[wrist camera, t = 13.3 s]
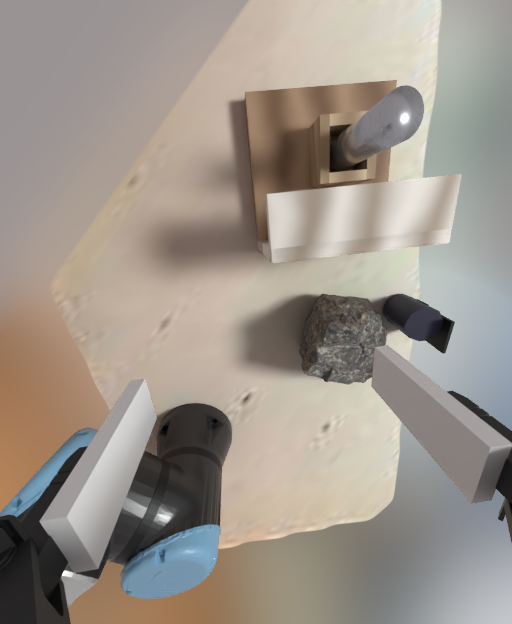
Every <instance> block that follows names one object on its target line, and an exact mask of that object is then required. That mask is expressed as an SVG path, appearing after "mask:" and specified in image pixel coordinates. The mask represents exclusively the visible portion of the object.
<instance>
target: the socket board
mask: <svg viewBox="0 0 512 624" xmlns="http://www.w3.org/2000/svg"><path fill="white" fill-rule="evenodd" d="M396 82H397V80H392V81H379V82H367V83H354V84H342V85H330V86H317V87H305V88H292V89H280V90H267V91H255V92H245V110H246V121H247V131H248V142H249V153H250V163H251V174H252V185H253V195H254V206H255V216H256V227H257V238H258V248H259V252H260V253H262V254H263V255H264V256H265V257H266V258H267V259H268V260H269V261H270V262H271V263H281V262H289V261H298V260H306V259H315V258H323V257H332V256H341V255H349V254H358V253H366V252H375V251H383V250H392V249H400V248H409V247H417V246H426V245H434V244H443V243H449V241H450V236H451V230H452V225H453V219H454V214H455V208H456V203H457V197H458V192H459V186H460V181H461V174H459V175H448V176H439V177H429V178H419V179H409V180H400V181H390V182H388V176H389V164H390V152H391V147H390V148H388V149H386V150H384V151H382V152H380V153H378V154H376V155H374V156H372V157H370V158H368V159H365V160H363V161H361V162H359V163H357V164H355V165H353V166H351V167H349V168H347V169H345V170H343V171H341V172H329V162H330V142H331V141H332V140H334V139H335V138H336V137H337V136H338V135H340V134H341V133H342V132H343V131H344V130H346V129H347V128H348V127H349V126H350V125H352V124H353V123H354V122H355V121H357V120H358V119H359V118H360V117H361V116H363V115H364V114H365V113H366V112H367V111H369V110H370V109H371V108H372V107H373V106H375V105H376V104H377V103H378V102H379V101H381V100H382V99H383V98H384V97H385V96H387V95H388V94H389V93H390V92H391V91H393V90H394V89H396Z"/></svg>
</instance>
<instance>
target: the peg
mask: <svg viewBox="0 0 512 624" xmlns="http://www.w3.org/2000/svg"><path fill="white" fill-rule="evenodd" d="M423 113H424V104H423V99H422V97H421V95H420V93H419V92H418V91H417V90H416V89H415V88H413V87H411V86H400V87H398V88H396V89H394V90H393V91H391V92H390V93H389V94H388V95H387V96H385V97H384V98H383V99H382V100H381V101H379V102H378V103H377V104H376V105H375V106H373V107H372V108H371V109H370V110H369V111H367V112H366V113H365V114H364V115H363V116H361V117H360V118H359V119H358V120H357V121H355V122H354V123H353V124H352V125H350V126H349V127H348V128H347V129H346V130H344V131H343V132H342V133H341V134H340V135H338V136H337V137H336V138H335V139H334V140H332V141H331V142H330V162H329V172H341V171H343V170H345V169H347V168H349V167H351V166H353V165H355V164H357V163H359V162H361V161H363V160H365V159H368V158H370V157H372V156H374V155H376V154H378V153H380V152H382V151H384V150H386V149H388V148H390V147H393V146H395V145H397V144H399V143H401V142H403V141H405V140H407V139H409V138H410V137H411V136H413V134H414V133H415V132H416V131H417V129H418V128H419V126H420V124H421V121H422V118H423Z"/></svg>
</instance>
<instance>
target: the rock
mask: <svg viewBox="0 0 512 624" xmlns="http://www.w3.org/2000/svg"><path fill="white" fill-rule="evenodd" d="M386 335H387V333H386V327H384V326H382V319H381V316H380V315H379V314H378V313H375V312H374V311H373V309H372V307H371V305H370V301H369V300H368V299H365V298H358V297H341V296H336V295H327V294H321V296H320V298H318V299H317V301H316V303H315V304H314V306H313V310H312V313H311V314H310V316H309V317H308V319H307V320H306V324H305V328H304V333H303V343H302V346H301V349H300V350H299V353H300V355H301V357H302V359H303V363H302V369H303V371H304V373H305V374H306V375H309V376H315V377H319V378H322V379H324V381H325V382H328V381H333V382H338V383H344V384H351V383H352V382H362V383H364V382H365V381H366V380H367V379H369V378H371V377H372V374H373V362H374V351H375V347H379V346H385V344H386Z"/></svg>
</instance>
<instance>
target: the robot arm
mask: <svg viewBox="0 0 512 624" xmlns="http://www.w3.org/2000/svg"><path fill="white" fill-rule="evenodd" d="M371 386H372V387H373V389H374V390H375V391H376V392H377V393H378V394H379V396H380V397H381V398H382V399H383V400H384V401H385V403H386V404H387V405H388V406H389V407H390V409H391V410H392V411H393V412H394V413H395V414H396V416H397V417H398V418H399V419H400V420H401V421H402V423H403V424H404V425H405V426H406V427H407V428H408V430H409V431H410V432H411V433H412V434H413V436H414V437H415V438H416V439H417V440H418V441H419V442H420V444H421V445H422V446H423V447H424V448H425V450H426V451H427V452H428V453H429V454H430V455H431V457H432V458H433V459H434V460H435V461H436V462H437V464H438V465H439V466H440V467H441V468H442V469H443V471H444V472H445V473H446V474H447V475H448V477H449V478H450V479H451V480H452V481H453V482H454V484H455V485H456V486H457V487H458V488H459V489H460V491H461V492H462V493H463V494H464V495H465V496H466V498H467V499H468V500H469V501H470V502H471V503H477V502H483V501H488V500H492V497H493V495H494V492H495V489H497V490H498V491H499V492H500V493H501V494H502V495H503V496H505V500H504V502H503V505H502V507H501V510H500V512H499V516H498V519H499V520H501V521H503V519H504V517H505V515H506V518H507V523H508V527H509V532H510V537H511V541H512V431H511V430H509V429H508V428H507V427H505V426H504V425H503V424H501V423H500V422H499V421H497V420H496V419H495V418H493V417H492V416H489V414H488V413H487V412H485V411H484V410H483V409H480V408H479V406H477V405H476V404H475V403H473V402H472V401H471V400H469V399H468V398H466V397H464V396H462V395H460V394H458V393H456V392H454V391H449V392H446V391H445V390H444V389H442V388H441V387H440V386H439V385H437V384H436V383H435V382H433V381H432V380H431V379H430V378H428V377H427V376H426V375H425V374H423V373H422V372H421V371H419V370H418V369H417V368H415V367H414V366H413V365H412V364H411V363H409V362H408V361H407V360H406V359H404V358H403V357H402V356H400V355H399V354H398V353H397V352H395V351H394V350H393V349H392V348H390V347H389V346H388V345H386V346H379V347H375V351H374V362H373V374H372V385H371ZM156 419H157V415H156V412H155V409H154V406H153V403H152V400H151V397H150V393H149V390H148V387H147V384H146V381H145V379H140V380H133V381H130V383H129V384H128V386H127V387H126V389H125V390H124V392H123V393H122V395H121V396H120V398H119V400H118V401H117V403H116V404H115V406H114V407H113V409H112V410H111V412H110V413H109V415H108V417H107V418H106V420H105V421H104V423H103V424H102V426H101V427H100V429H99V430H96V429H93V428H85V429H82V430H79V431H78V432H76V433H75V434H74V435H73V436H71V438H69V440H68V441H66V443H64V444H63V445H62V447H61V448H60V449H59V450H58V451H57V452H56V453H55V454H54V455H53V456H52V457H51V458H50V459H49V460H48V461H47V462H46V463H45V464H44V465H43V466H42V468H41V469H40V470H39V471H38V472H37V473H36V474H35V475H34V476H33V477H32V478H31V479H30V480H29V482H28V483H27V484H26V485H25V486H24V487H23V488H22V489H21V490H20V491H19V493H18V494H17V495H16V496H15V497H14V498H13V499H12V500H11V501H10V502H9V504H8V505H7V506H5V508H4V509H3V510H2V511H1V512H0V624H71V623H70V617H69V612H68V609H69V607H70V605H71V603H72V602H73V601H74V600H75V599H76V598H77V597H78V596H80V595H81V594H82V593H84V592H85V591H86V590H88V589H89V588H90V587H92V586H93V585H95V584H96V582H97V581H98V579H99V577H100V575H101V572H102V570H103V568H104V566H105V564H106V562H107V560H108V561H111V562H115V563H118V564H121V565H124V568H123V570H122V572H121V588H122V589H123V591H126V593H127V594H128V595H130V596H132V597H136V598H143V599H154V598H163V597H168V596H172V595H175V594H179V593H182V592H185V591H187V590H189V589H191V588H193V587H195V586H196V585H198V584H200V583H201V582H202V581H203V580H205V579H206V577H208V575H209V574H210V573H211V571H212V570H213V568H214V566H215V563H216V560H217V554H218V544H219V535H220V532H221V529H220V507H221V481H222V466H223V463H224V461H225V458H226V456H227V453H228V450H229V448H230V445H231V440H232V427H231V423H230V421H229V419H228V418H227V416H226V415H225V414H224V413H223V412H221V411H220V410H218V409H217V408H214V407H212V406H209V405H205V404H187V405H183V406H180V407H178V408H175V409H174V410H172V411H171V412H169V413H168V414H167V415H166V416H165V417H164V419H163V420H162V422H161V425H160V428H159V431H158V434H157V456H155V455H152V454H150V453H148V452H146V451H144V450H145V447H146V445H147V442H148V440H149V437H150V435H151V432H152V430H153V427H154V424H155V422H156Z"/></svg>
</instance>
